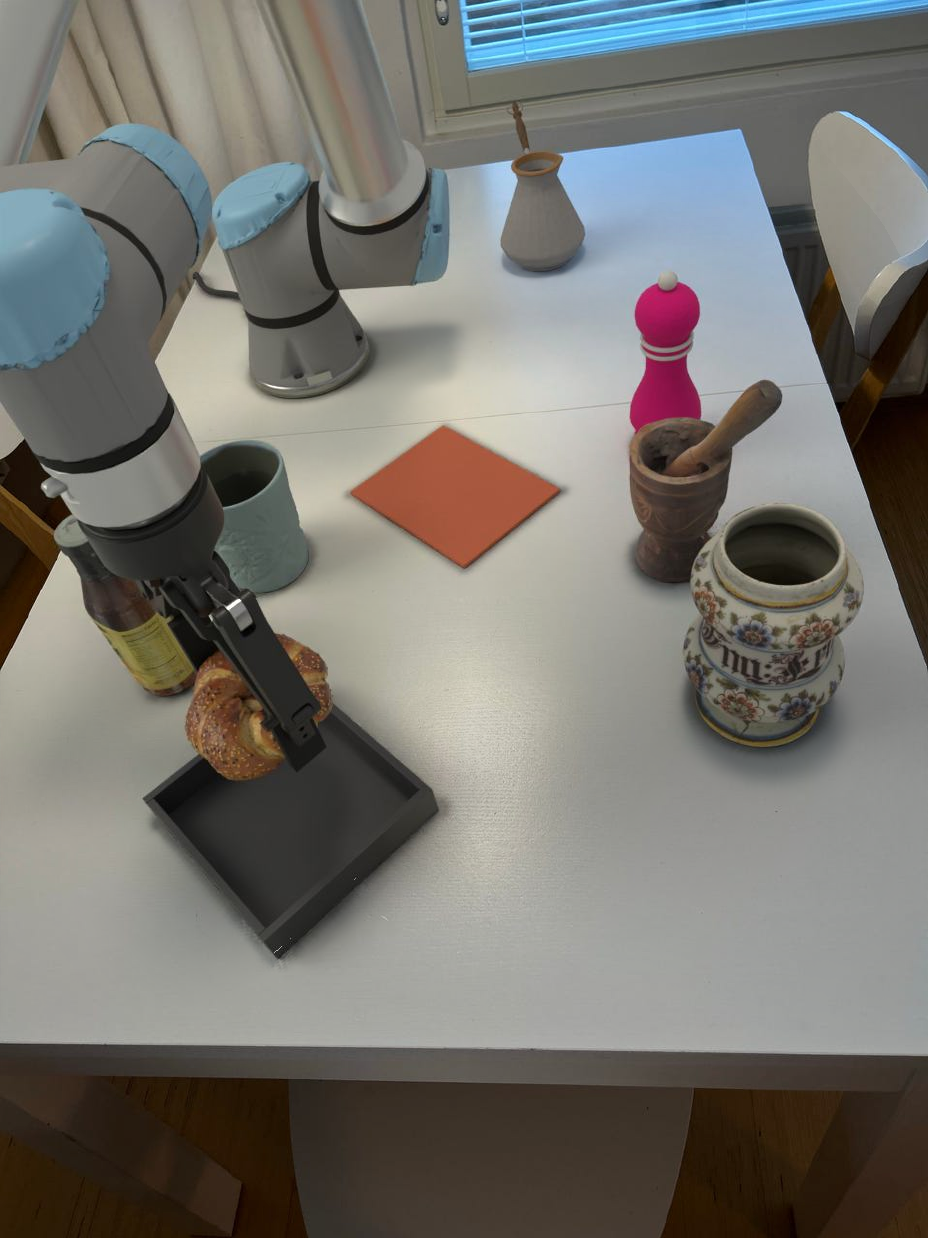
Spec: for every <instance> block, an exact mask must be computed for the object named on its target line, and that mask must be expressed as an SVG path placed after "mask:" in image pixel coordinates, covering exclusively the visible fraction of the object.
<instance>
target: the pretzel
mask: <svg viewBox="0 0 928 1238" xmlns="http://www.w3.org/2000/svg"><path fill="white" fill-rule="evenodd" d="M274 633H275V632H274ZM275 634H276V636H277V638H278V639H279V641H280V642H281V644H282V646H283V647H284V649H285V650H286V652H287V653H288V655H289V657H290V658H291V660H292V661H293V663H294V665H295V666H296V668H297V669H298V671H299V672H300V674H301V676H302V677H303V679H304V680H305V682H306V684H307V685H308V687H309V688H310V690H311V691H312V693H313V695H314V696H315V698H316V699H317V700H318V701H319V702H320V706H321V707H322V710H321V711H319V712H318V713H317V714H316V715H315V716H313V720H314V722H315V724H316V726H317V724H318V722H320V721H323V720H324V719H325V718H326V717H327V716H328V715H329V713H330V712H331V708H332V706H333V704H334V703H333V697H334V694H332V688H331V687H330V684H329V682H328V681H327V678H328V676H329V671H328V670H329V667H328V666H327V664H326V661H325V660H324V659H323V658H322V656H321V655H320V653H318V652H316V651H314V650H313V649H311V648H310V647H309V646H306V645H304V644H302V643H301V642H299V641H297V640H296V639H294V638H293V637H291V636H288V635H287V634H285V633H275ZM332 703H333V704H332ZM264 711H265V710H264V709H263V707H262V706H261V705H260V703H259V702H258V701H257V699H256V698H255V697H254V695H253V694H252V693H251V691H250V690H249V689H248V687H247V686H246V685H245V683H244V682H243V681H242V679H241V678H240V676H239V675H238V674H237V672H236V671H235V670H234V668H233V667H232V666H231V664H230V663H229V662H228V660H227V659H226V658H225V656H224V655H223V654H222V652H221V651H220V650H218V651H216V652H215V653H214V654H212V656H210V657H208V659H207V660H205V662H204V663H203V664H202V665H201V667H200V668H199V671H198V672H197V676H196V680H195V681H194V687H193V698H192V699H191V702H190V705H189V707H188V709H187V711H186V714H185V724H184V730H185V735H186V737H187V741H189V743H190V745H191V746H192V748H193V749H194V750H195V751H196V752H197V755H198V754H201V755H202V757H204V758H205V759H207V760H208V761H209V763H210V764H211V765H212V766H213V768H214V769H215V770H216V771H217V772H218V773H220V774H221V775H222V776H225V777H226V778H227V779H231V780H236V781H237V780H250V779H254V778H258V777H261V776H263V775H266V774H268V773H270V772H271V771H273V770H274V769H276V768H277V767H278V766H279V765H280V764H281V763H282V762H283V761H284V760H285V759H286V757H285V756H284V754H283V752H282V750H281V748H280V747H279V745H278V743H277V741H276V739H275V737H274V736H273V734H272V732H271V730H270V731H269V732H267V731H266V730H265V729H264V728H263V727H262V726H261V725H260V723H261V722H262V721H263V720H264V718H263V716H262V714H261V713H263V712H264Z"/></svg>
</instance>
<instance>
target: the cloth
mask: <svg viewBox="0 0 928 1238" xmlns="http://www.w3.org/2000/svg"><path fill="white" fill-rule="evenodd" d="M560 492H561V489H560V488H559V487H557V486H556V485H554V484H552V483H550V482H548V481H546V480H545V479H543V478H541V477H539V476H537V475H535V474H533V473H532V472H530V471H528V470H527V469H525V468H523V467H521V466H519V465H517V464H515V463H513V462H512V461H510V460H508V459H506V458H505V457H503V456H500V455H499V454H497V453H495V452H493V451H491V450H490V449H487V448H486V447H484V446H482V445H480V444H478V443H477V442H474V441H473V440H471V439H469V438H468V437H465V436H463V435H462V434H460V433H458V432H456V431H455V430H454V429H453V430H452V429H451V428H449V427H447V426H445V425H442V426H440V427H438V428H437V429H435V430H434V431H433V432H432V433H430V434H429V435H427V436H426V437H425V438H423V439H422V440H420V441H419V442H417V443H416V444H414V446H412V447H411V448H409V449H408V450H406V451H405V452H403V453H402V454H401V455H399V456H398V457H396V458H395V459H394V460H392V461H391V462H389V463H388V464H386V465H385V466H384V467H382V468H381V469H379V470H378V471H377V472H375V473H374V474H372V476H370V477H369V478H367V479H366V480H365V481H363V482H361V483H360V484H359V485H357V486H356V487H354V488H353V489H352V490H350V491H349V493H350V495H351V496H352V497H354V498H356V499H357V500H359V501H360V502H362V503H363V504H365V505H367V506H368V507H369V508H371V509H373V510H374V511H375V512H377V513H378V514H380V515H382V516H383V517H385V518H386V519H388V520H389V521H391V522H392V523H394V524H395V525H397V526H398V527H400V528H401V529H403V530H404V531H406V532H408V533H409V534H411V535H412V536H414V537H415V538H417V539H418V540H420V541H422V542H423V543H425V544H426V545H427V546H429V547H431V548H432V549H433V550H435V551H437V552H438V553H440V554H441V555H442V556H444V557H445V558H446V559H448V560H450V561H452V562H453V563H455V564H456V565H458V566H459V567H461V568H463V569H465V568H467V567H469V565H470V564H472V563H473V562H474V561H476V560H477V559H478V558H479V557H480V556H482V555H484V554H485V553H486V552H487V551H488V550H489V549H490V548H492V547H493V546H495V544H498V542H499V541H501V540H502V539H503V538H504V537H506V536H507V535H508V534H509V533H510V532H512V531H513V530H514V529H516V528H517V527H518V526H519V525H521V524H523V522H524V521H526V520H527V519H528V518H529V517H530V516H532V515H533V514H534V513H536V512H537V511H538V510H539V509H541V508H542V507H543V506H544V505H545V504H547V503H548V502H549V501H550V500H551V499H553V498H554V497H556V496H557V495H558V494H559V493H560Z"/></svg>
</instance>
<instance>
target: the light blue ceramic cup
mask: <svg viewBox="0 0 928 1238" xmlns="http://www.w3.org/2000/svg"><path fill="white" fill-rule="evenodd" d="M199 458H200V463H201V464H202V466H203V467H204V469H205V471H206V473H207V475H208V477H209V479H210V481H211V483H212V485H213V488H214V490H215V492H216V494H217V496H218V498H219V500H220V502H221V505H222V507H223V511H224V527H223V530H222V533H221V536H220V538H219V540H218V542H217V544H216V546H215V549H214V550H215V551H216V552H217V553H218V554H219V555H220V557H221V558H222V559H223V561H224V562H225V564H226V565H227V566H228V568H229V570H230V577H231V579H232V580H233V582H234V583H235V585H236V586H237V587H238V589H241V591H242V590H243V589H244V588H247V589H249V590H250V592H251V591H252V592H253V593H254V594H261V593H270V592H274V591H277V590H280V589H282V588H284V587H286V586H288V585H289V584H291V583H293V582H294V581H295V580H296V579H298V577H299V576H300V575H301V574H302V573H304V570H305V568H306V566H307V564H308V562H309V555H310V554H309V547H308V543H307V540H306V536H305V532H304V530H303V529H302V528H301V526H300V516H299V513H298V509H297V506H296V502H295V500H294V497H293V493H292V490H291V487H290V482H289V478H288V477H289V476H288V473H287V468H286V465H285V460H284V457H283V455H282V453H281V452H280V451H279V449H278V448H277V447H276V446H274V445H272V444H271V443H269V442H266V441H262V440H258V439H240V440H233V441H229V442H225V443H222V444H219V445H216V446H214V447H212V448H210V449H208V450H207V451H205V452H202V453H201V454H199Z"/></svg>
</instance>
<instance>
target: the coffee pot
mask: <svg viewBox="0 0 928 1238" xmlns="http://www.w3.org/2000/svg"><path fill="white" fill-rule="evenodd" d="M519 105H520V106H521V109H520V106H519ZM510 107H511V109H512V111H513V112H510V111H509V108H510ZM523 109H524V105H523V103H522V102H518V101H516V100H513V101H511V104H509V105H508V106H507V108H506V112H507V113H508V114H509V115H512V117H513V120H515V128H516V129H515V131H516V133H517V136H518V139H519V142H520V145H521V149H522V151H523V153H524V154H522V155H519V156H518V157H516V158H515V159H514V160H512V162H511V165H510V169H511V171H512V172H513V174H515V177H516V180H517V182H516V185H515V188H514V192H513V195H512V198H511V202H510V205H509V209H508V212H507V215H506V219H505V222H504V225H503V229H502V232H501V236H500V239H499V240H500V241H499V242H500V248H501V249H502V251H503V252H504V255H505V256H506V257H507V258H508V259H509V260H510V261H512V262H513V263H514V264H516V265H518V266H519V267H520V268H522V269H523V270H527V271H532V272H545V271H551V270H554V269H558V268H560V267H562V266H564V265H566V264H567V263H568V262H570V260H571V259H572V258H573V257H574V256H575V255H576V254H577V252H578V251H579V250H580V249H581V248H582V245H583V243H584V240H585V238H586V230H585V229H586V228H585V226H584V224H583V222H582V220H581V218H580V216H579V215H578V212H577V211H576V208H575V207H574V205H573V202H572V200H571V199H570V197H569V195H568V193H567V191H566V189H565V188H564V186H563V183H562V181H561V179H560V178H559V176H558V174H559V170H560V167H561V166H562V163H563V161H564V156H563V155H561V154H558V153H556V152H553V151H549V150H536V151H530V150H531V149H530V143H529V137H528V133H527V129H526V128H527V127H526V124H525V122H524V120H523V119H522V117H523V113H522V111H523Z"/></svg>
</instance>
